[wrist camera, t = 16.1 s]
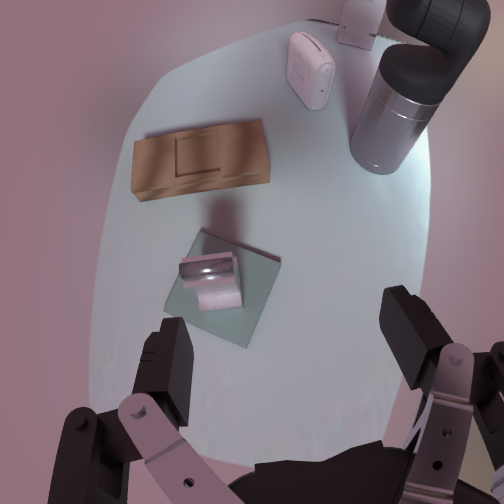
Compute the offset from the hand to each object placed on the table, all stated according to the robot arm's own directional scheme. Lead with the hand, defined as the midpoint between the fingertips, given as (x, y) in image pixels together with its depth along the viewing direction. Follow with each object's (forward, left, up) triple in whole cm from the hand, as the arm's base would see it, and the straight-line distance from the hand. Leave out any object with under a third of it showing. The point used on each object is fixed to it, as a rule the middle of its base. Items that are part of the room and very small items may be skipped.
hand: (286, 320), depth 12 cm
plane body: (-19, -19, -29) cm, 40 cm away
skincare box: (-65, -4, -29) cm, 72 cm away
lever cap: (-3, -8, -28) cm, 29 cm away
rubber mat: (-3, -8, -29) cm, 30 cm away
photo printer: (-41, -9, -29) cm, 51 cm away
